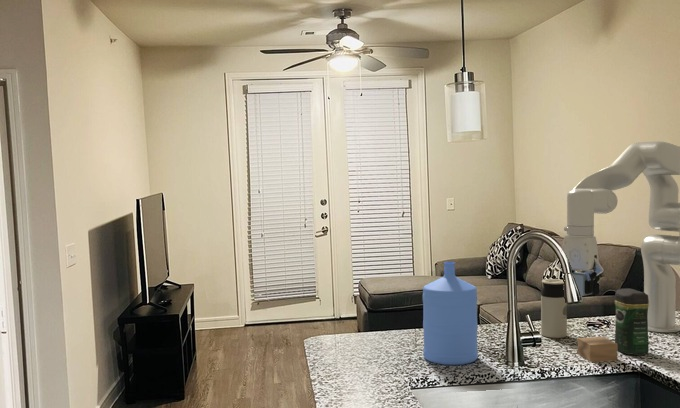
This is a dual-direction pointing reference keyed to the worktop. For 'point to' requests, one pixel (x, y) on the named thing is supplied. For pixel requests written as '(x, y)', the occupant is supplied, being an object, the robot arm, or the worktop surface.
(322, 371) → the worktop surface
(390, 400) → the worktop surface
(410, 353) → the worktop surface
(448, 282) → the water jug
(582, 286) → the blue block
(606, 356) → the walnut block
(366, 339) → the worktop surface
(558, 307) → the travel mug
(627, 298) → the coffee jar
